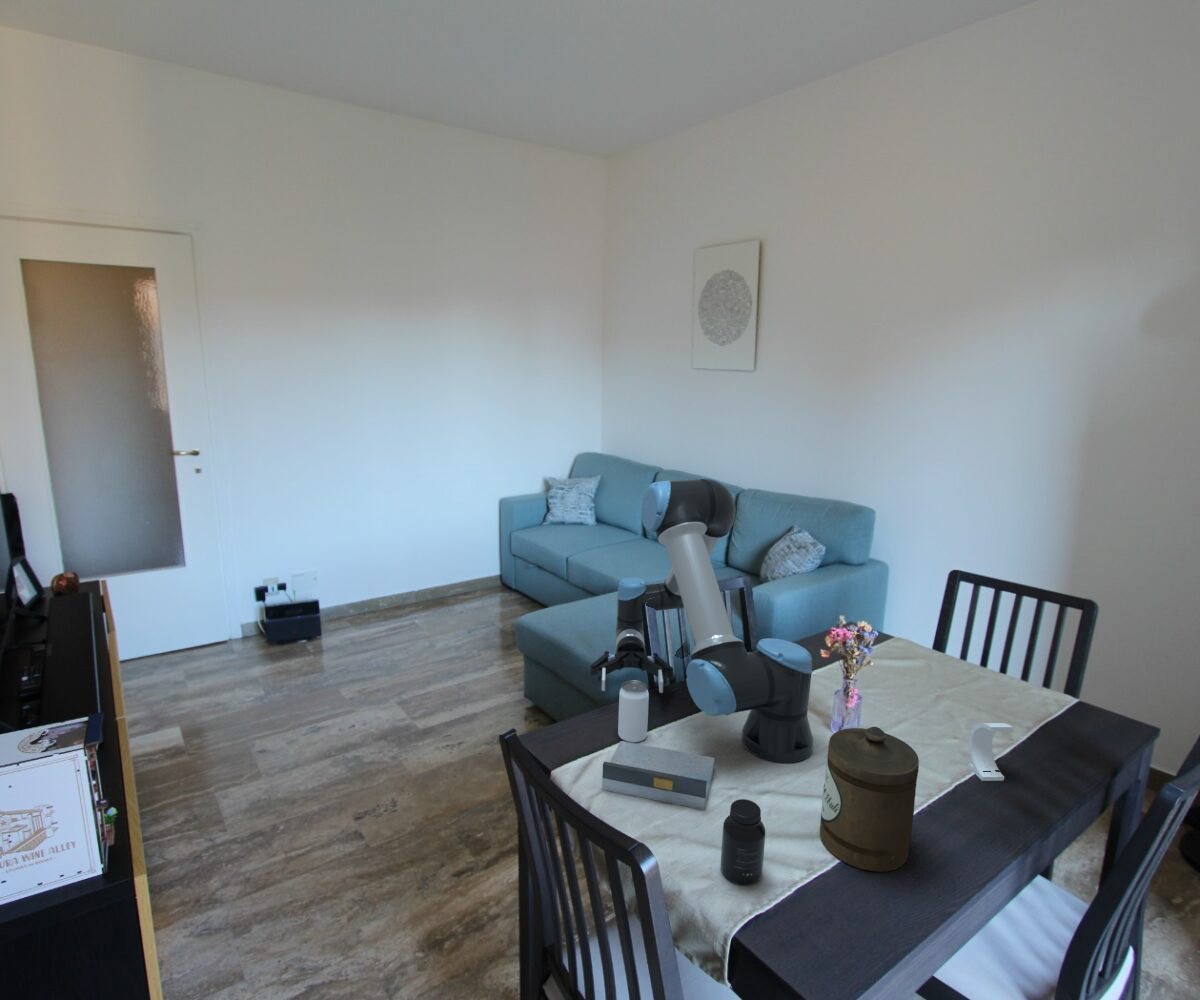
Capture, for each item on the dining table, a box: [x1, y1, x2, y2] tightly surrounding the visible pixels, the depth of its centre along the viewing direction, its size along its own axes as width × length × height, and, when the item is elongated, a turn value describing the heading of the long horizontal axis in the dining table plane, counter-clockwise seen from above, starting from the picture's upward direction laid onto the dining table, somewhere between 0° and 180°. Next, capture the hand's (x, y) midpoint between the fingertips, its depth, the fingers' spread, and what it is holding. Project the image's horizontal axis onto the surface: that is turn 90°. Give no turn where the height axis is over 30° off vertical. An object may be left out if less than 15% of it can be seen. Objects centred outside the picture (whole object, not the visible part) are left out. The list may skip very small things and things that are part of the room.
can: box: [617, 679, 650, 744], centre depth 155 cm, size 6×6×12 cm
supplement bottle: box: [720, 798, 766, 886], centre depth 115 cm, size 7×7×12 cm
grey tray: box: [601, 740, 716, 811], centre depth 140 cm, size 20×14×6 cm
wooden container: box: [819, 726, 920, 873], centre depth 122 cm, size 15×15×22 cm
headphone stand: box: [967, 722, 1013, 782], centre depth 145 cm, size 5×6×12 cm
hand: (632, 686), depth 164 cm, fingers open, 13 cm apart
